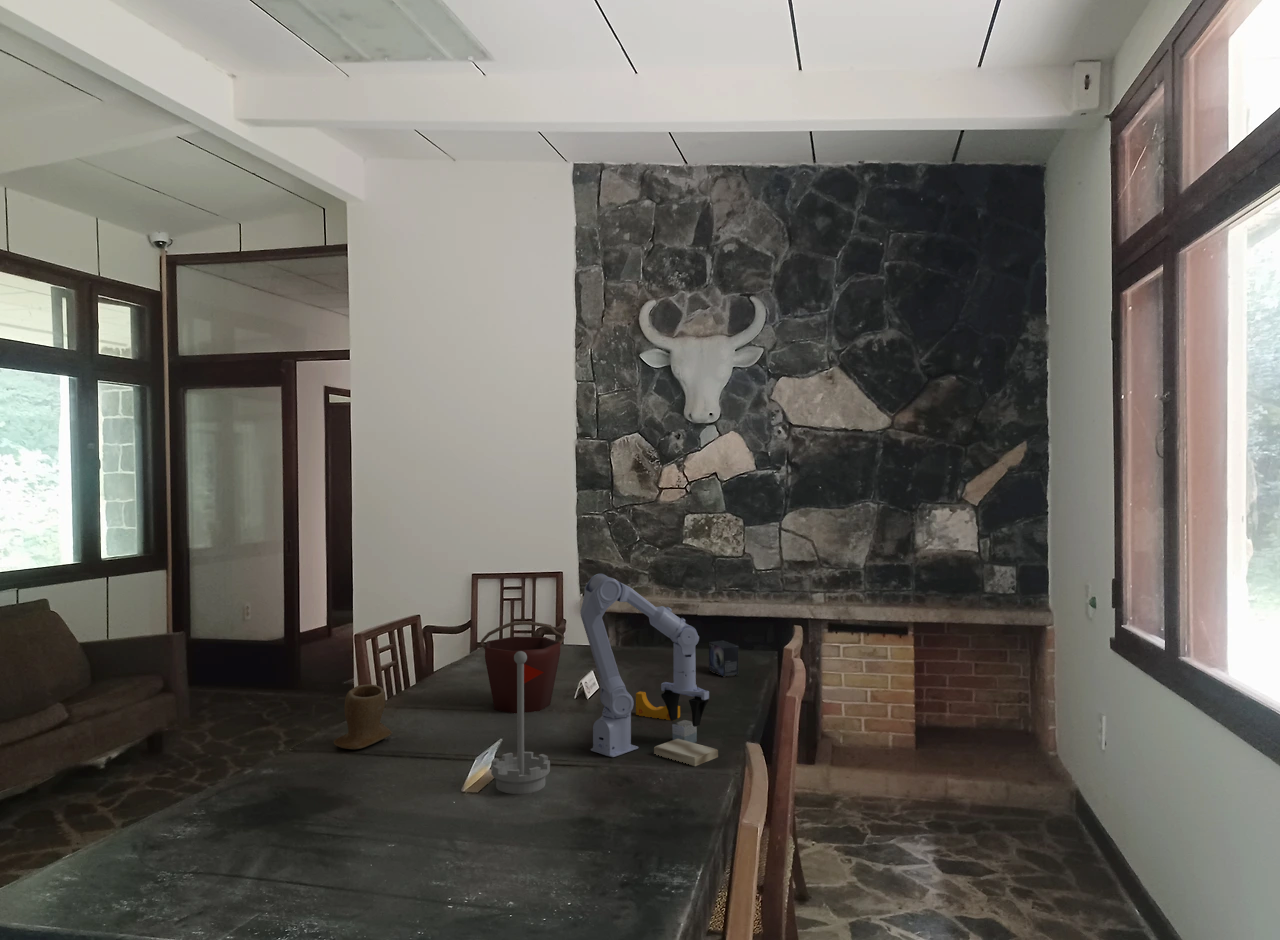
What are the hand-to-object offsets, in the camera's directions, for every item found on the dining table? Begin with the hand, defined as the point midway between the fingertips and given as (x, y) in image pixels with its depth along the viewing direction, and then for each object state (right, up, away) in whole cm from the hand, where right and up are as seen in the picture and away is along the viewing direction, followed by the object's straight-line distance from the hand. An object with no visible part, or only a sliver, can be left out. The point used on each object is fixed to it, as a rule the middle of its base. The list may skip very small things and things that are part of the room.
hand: (684, 722), depth 226 cm
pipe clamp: (-7, -5, +24) cm, 25 cm away
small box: (+17, -5, +75) cm, 77 cm away
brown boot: (-82, -6, -1) cm, 82 cm away
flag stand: (-38, -5, -30) cm, 49 cm away
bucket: (-47, -5, +35) cm, 59 cm away
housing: (0, -5, 0) cm, 5 cm away
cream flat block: (0, -5, -11) cm, 12 cm away
